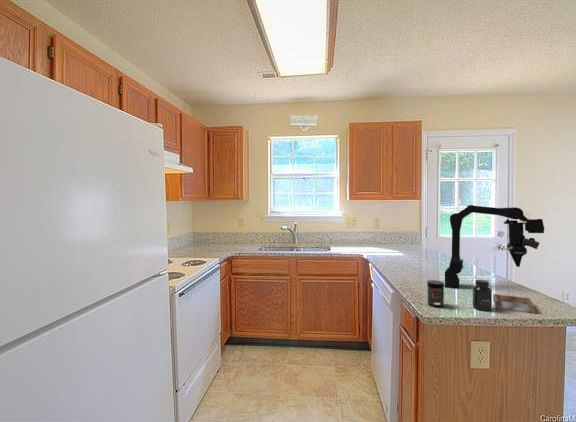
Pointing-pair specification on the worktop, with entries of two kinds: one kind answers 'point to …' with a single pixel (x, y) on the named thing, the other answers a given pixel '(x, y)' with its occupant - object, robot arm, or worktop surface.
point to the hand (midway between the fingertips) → (517, 264)
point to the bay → (513, 303)
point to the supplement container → (435, 293)
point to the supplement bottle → (482, 296)
